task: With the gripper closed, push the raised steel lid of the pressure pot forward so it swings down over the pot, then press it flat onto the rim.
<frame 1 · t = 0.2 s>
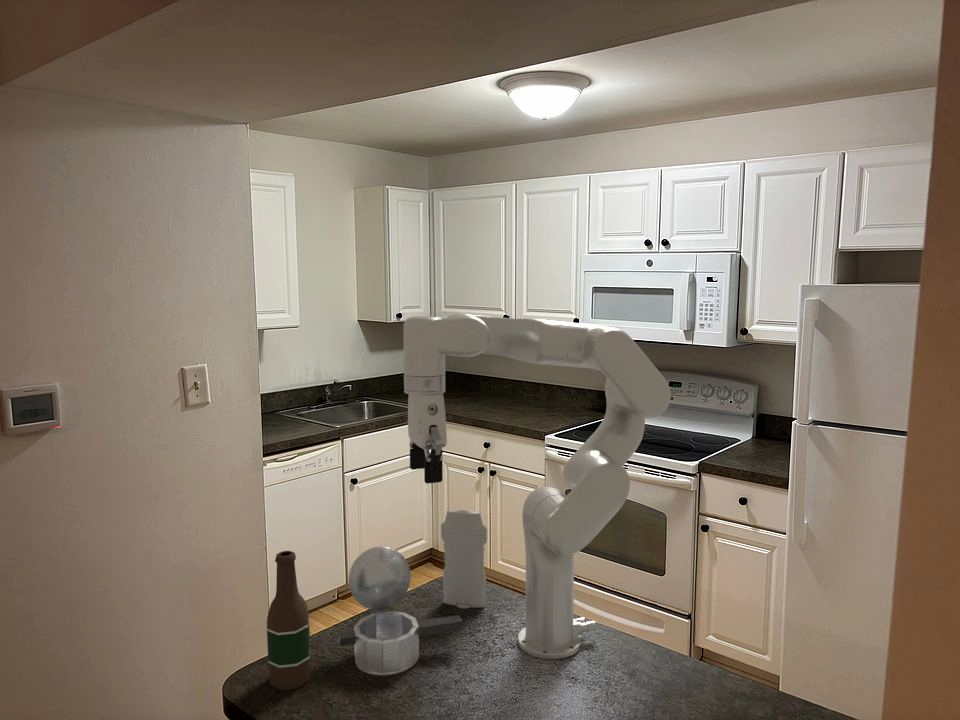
hand: (425, 475, 128), 36 cm above the countertop, tool pointing down, fingers open, 9 cm apart
tall pale column: (464, 605, 155), on the countertop
beer bottle: (290, 680, 127), on the countertop
pot: (387, 657, 134), on the countertop
lid: (379, 576, 140), point 13 cm above the countertop, hinge at 100.0°
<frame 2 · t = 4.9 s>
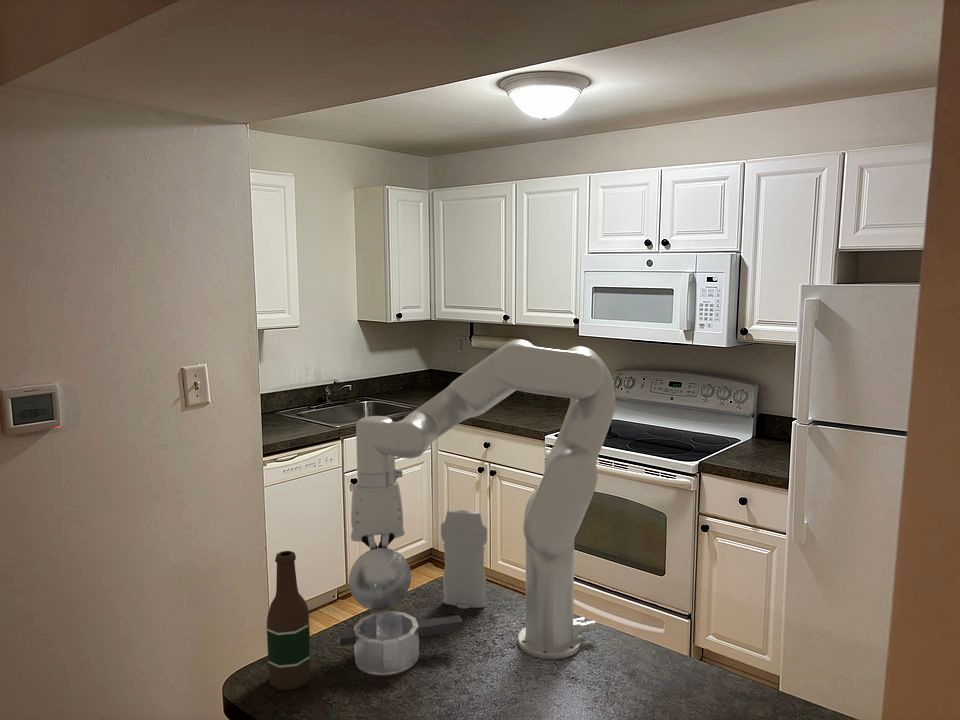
hand: (378, 565, 141), 15 cm above the countertop, tool pointing down, fingers closed
lid: (379, 577, 140), point 13 cm above the countertop, hinge at 94.3°, touching gripper
everything else where it was.
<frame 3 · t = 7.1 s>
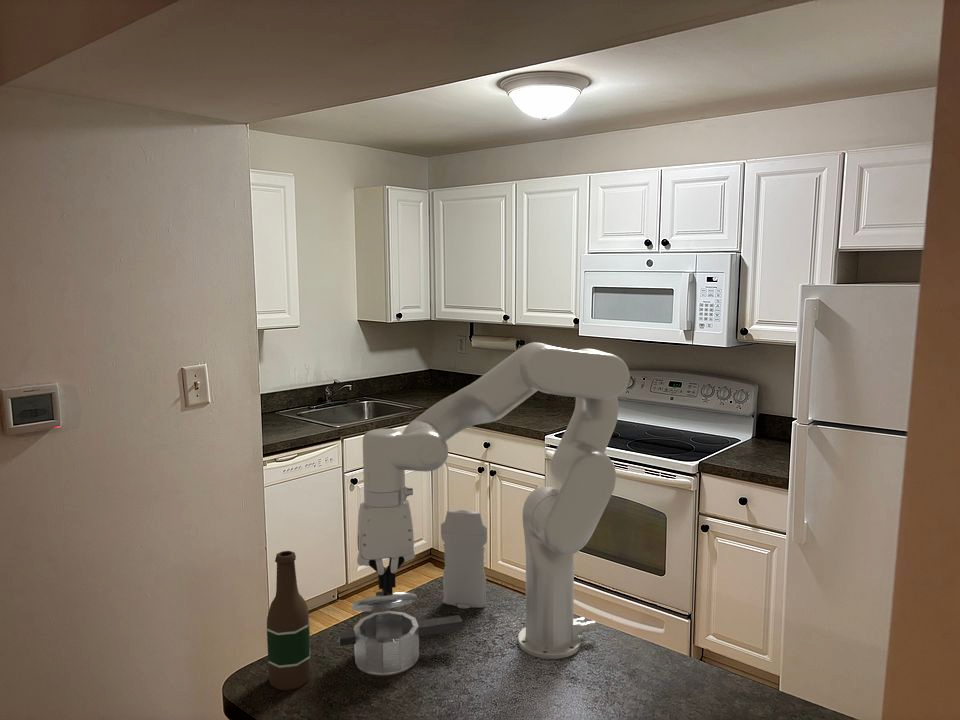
hand: (387, 591, 130), 15 cm above the countertop, tool pointing down, fingers closed
lid: (384, 596, 134), point 11 cm above the countertop, hinge at 35.4°
everything else where it was.
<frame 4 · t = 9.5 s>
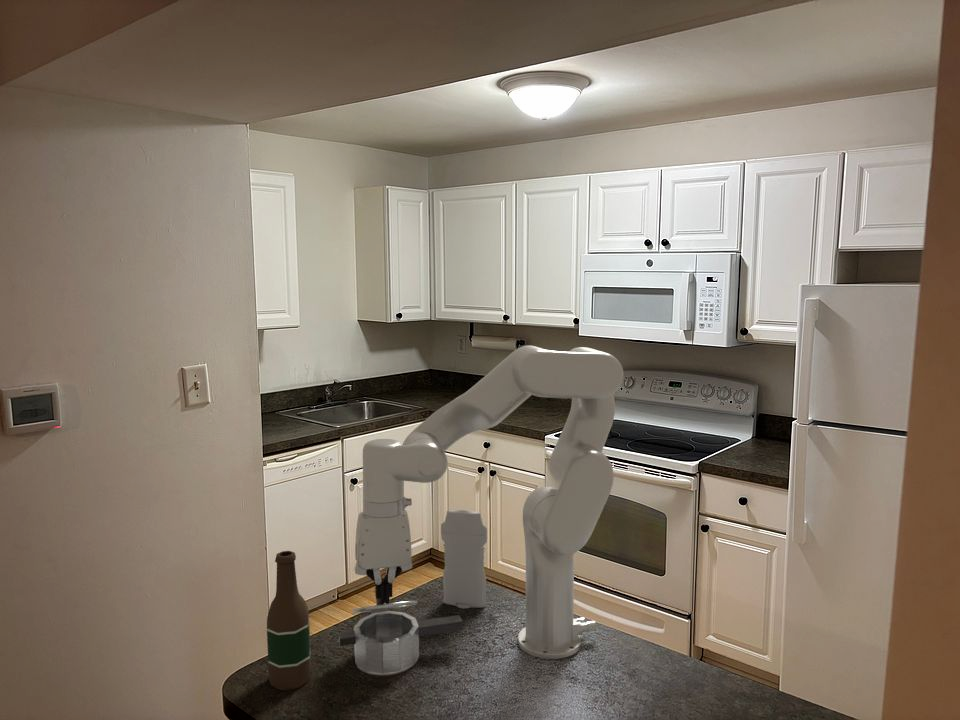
hand: (383, 600, 130), 13 cm above the countertop, tool pointing down, fingers closed
lid: (384, 601, 134), point 11 cm above the countertop, hinge at 27.4°, touching gripper
everything else where it was.
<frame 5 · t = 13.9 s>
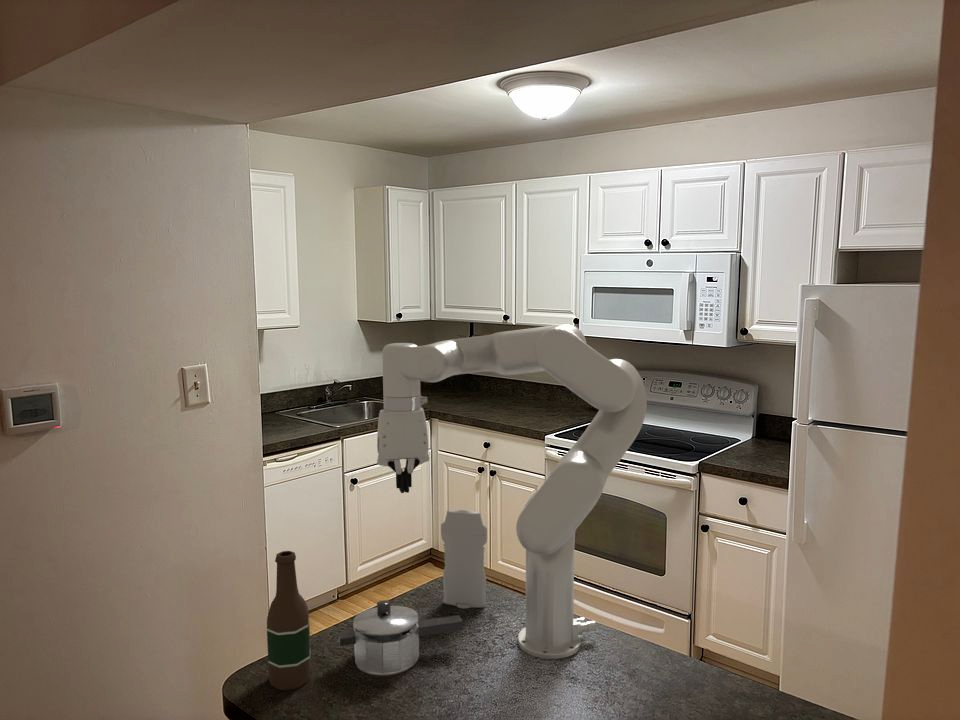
hand: (404, 490, 143), 29 cm above the countertop, tool pointing down, fingers closed
lid: (385, 615, 133), point 9 cm above the countertop, hinge at 4.8°
everything else where it was.
at the end: lid at +5° (first picture: +100°); lid touching nothing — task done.
